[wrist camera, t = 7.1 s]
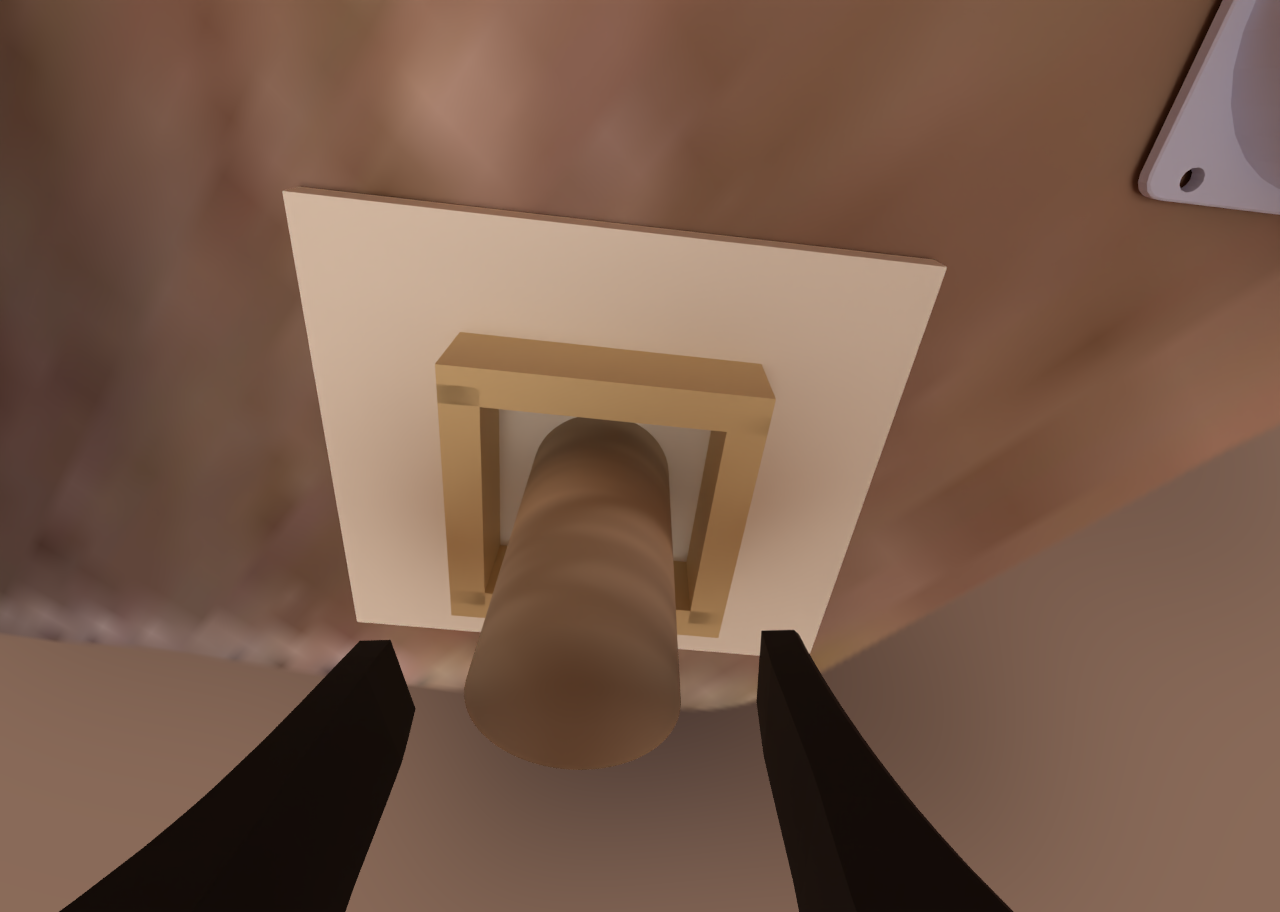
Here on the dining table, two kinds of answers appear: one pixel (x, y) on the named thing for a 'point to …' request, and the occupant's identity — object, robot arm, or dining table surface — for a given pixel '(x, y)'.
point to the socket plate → (598, 395)
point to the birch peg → (583, 606)
